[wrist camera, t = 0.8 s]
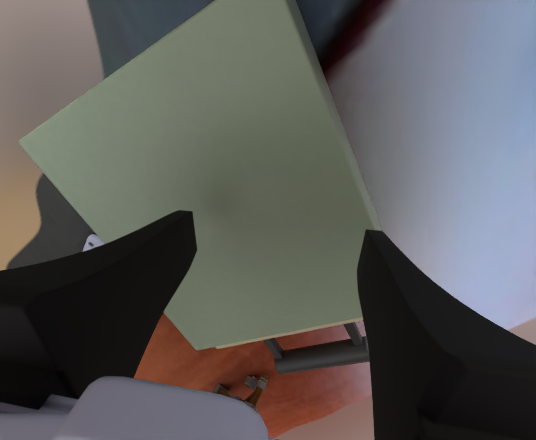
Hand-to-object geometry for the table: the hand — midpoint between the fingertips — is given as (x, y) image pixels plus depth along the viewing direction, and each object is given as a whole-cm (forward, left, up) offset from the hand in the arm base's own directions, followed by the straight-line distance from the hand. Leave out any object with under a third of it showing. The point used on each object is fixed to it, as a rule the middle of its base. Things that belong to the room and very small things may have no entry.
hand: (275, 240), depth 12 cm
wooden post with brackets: (-26, -10, -10) cm, 30 cm away
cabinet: (-2, +2, -10) cm, 10 cm away
